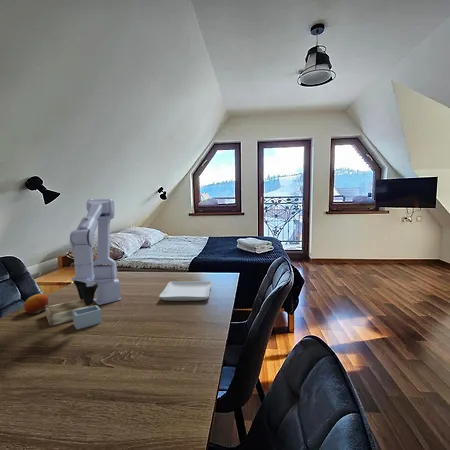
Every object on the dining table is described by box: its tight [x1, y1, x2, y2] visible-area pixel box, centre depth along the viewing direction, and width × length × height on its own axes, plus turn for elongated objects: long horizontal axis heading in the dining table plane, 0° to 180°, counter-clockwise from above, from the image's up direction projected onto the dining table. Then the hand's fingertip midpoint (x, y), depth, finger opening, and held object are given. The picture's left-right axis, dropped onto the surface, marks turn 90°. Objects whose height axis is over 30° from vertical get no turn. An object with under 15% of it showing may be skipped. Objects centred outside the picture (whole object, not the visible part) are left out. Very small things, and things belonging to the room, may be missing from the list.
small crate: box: [72, 304, 103, 330], centre depth 97 cm, size 8×5×5 cm
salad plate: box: [158, 280, 213, 302], centre depth 125 cm, size 21×21×3 cm
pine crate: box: [45, 298, 94, 326], centre depth 104 cm, size 14×11×4 cm
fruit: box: [23, 293, 49, 315], centre depth 108 cm, size 8×8×8 cm
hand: (86, 301), depth 96 cm, fingers open, 7 cm apart
